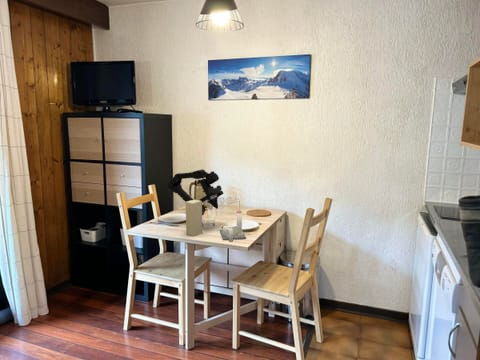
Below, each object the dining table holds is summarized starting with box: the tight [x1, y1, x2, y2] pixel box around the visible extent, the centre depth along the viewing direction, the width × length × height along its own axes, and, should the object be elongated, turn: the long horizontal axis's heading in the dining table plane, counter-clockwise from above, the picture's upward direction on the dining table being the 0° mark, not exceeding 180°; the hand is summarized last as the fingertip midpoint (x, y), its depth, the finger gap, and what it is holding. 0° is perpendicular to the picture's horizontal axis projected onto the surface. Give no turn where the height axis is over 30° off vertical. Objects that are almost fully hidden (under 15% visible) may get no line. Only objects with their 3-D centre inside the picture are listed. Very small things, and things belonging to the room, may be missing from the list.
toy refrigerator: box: [185, 199, 203, 237], centre depth 218 cm, size 8×7×21 cm
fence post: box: [229, 209, 243, 234], centre depth 214 cm, size 8×3×15 cm, turn 117°
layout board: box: [219, 229, 247, 241], centre depth 217 cm, size 16×14×1 cm
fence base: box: [222, 224, 234, 243], centre depth 210 cm, size 10×4×8 cm, turn 25°
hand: (217, 208), depth 226 cm, fingers closed
